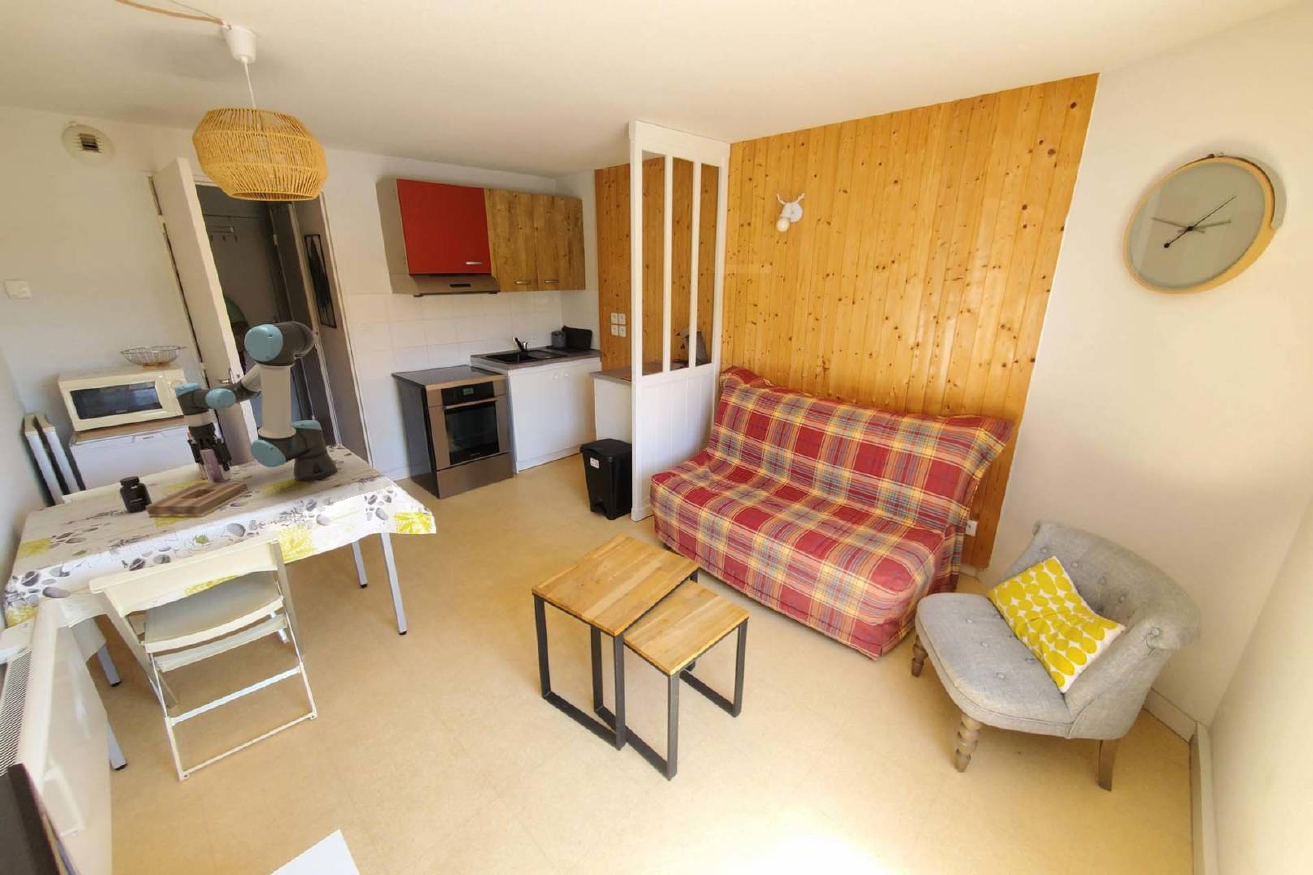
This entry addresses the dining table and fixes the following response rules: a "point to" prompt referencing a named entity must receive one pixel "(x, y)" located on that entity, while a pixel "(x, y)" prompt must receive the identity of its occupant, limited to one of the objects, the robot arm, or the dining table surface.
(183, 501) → the socket block
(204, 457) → the beverage can
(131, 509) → the supplement bottle
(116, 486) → the dining table surface
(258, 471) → the dining table surface
